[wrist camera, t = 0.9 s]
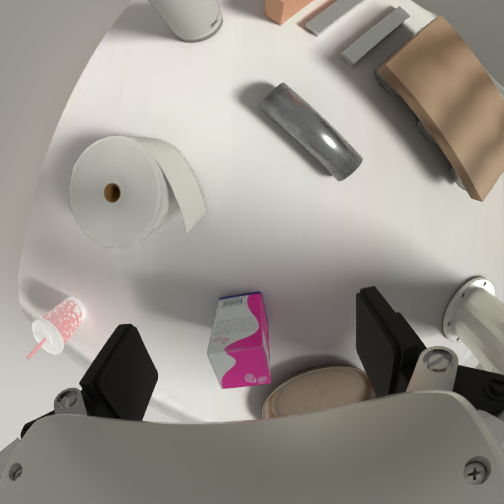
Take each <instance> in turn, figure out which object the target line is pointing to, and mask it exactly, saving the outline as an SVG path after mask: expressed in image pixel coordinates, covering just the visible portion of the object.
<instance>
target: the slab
mask: <svg viewBox="0 0 504 504" xmlns="http://www.w3.org/2000/svg"><path fill="white" fill-rule="evenodd" d="M377 72H378V73H379V74H380V75H381V76H382V77H383V78H384V79H385V80H386V81H387V82H388V83H389V84H390V85H391V86H392V87H393V89H394V90H395V91H396V92H397V93H398V94H399V95H400V96H401V98H402V99H403V100H404V101H405V102H406V103H407V105H408V106H409V107H410V108H411V109H412V111H413V112H414V113H415V114H416V116H417V117H418V118H419V119H420V121H421V122H422V123H423V125H424V126H425V127H426V129H427V130H428V131H429V133H430V134H431V135H432V137H433V138H434V140H435V141H436V142H437V144H438V145H439V147H440V148H441V150H442V151H443V153H444V154H445V156H446V157H447V159H448V160H449V162H450V163H451V165H452V166H453V168H454V170H455V171H456V173H457V175H458V176H459V178H460V180H461V181H462V183H463V185H464V187H465V188H466V190H467V192H468V194H469V196H470V197H471V198H472V199H475V200H478V201H481V202H483V201H484V199H485V198H486V196H487V195H488V193H489V192H490V191H491V189H492V188H493V186H494V185H495V183H496V182H497V180H498V179H499V177H500V176H501V174H502V172H503V171H504V100H503V98H502V96H501V94H500V93H499V91H498V89H497V88H496V86H495V84H494V83H493V81H492V80H491V78H490V77H489V75H488V74H487V72H486V71H485V69H484V68H483V66H482V65H481V63H480V62H479V60H478V59H477V58H476V56H475V55H474V54H473V52H472V51H471V50H470V48H469V47H468V46H467V44H466V43H465V42H464V41H463V39H462V38H461V37H460V36H459V35H458V33H457V32H456V31H455V30H454V29H453V27H452V26H451V25H450V24H449V23H448V22H447V21H446V20H445V19H444V18H443V16H442V15H440V16H439V17H437V18H435V19H434V20H432V21H431V22H430V23H429V24H427V25H426V26H425V27H424V28H423V29H422V30H421V31H419V32H418V33H417V34H416V35H415V36H414V37H413V38H412V39H410V40H409V41H408V42H407V43H406V44H405V45H404V46H403V47H402V48H400V49H399V50H398V51H397V52H396V53H395V54H394V55H393V56H392V57H391V58H389V59H388V60H387V61H386V62H385V63H384V64H383V65H382V66H381V67H380V68H379V69H378V70H377Z"/></svg>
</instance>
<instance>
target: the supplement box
mask: <svg viewBox="0 0 504 504" xmlns="http://www.w3.org/2000/svg"><path fill="white" fill-rule="evenodd" d="M207 355H208V357H209V360H210V362H211V364H212V367H213V369H214V372H215V374H216V376H217V379H218V381H219V384H220V386H221V389H226V388H236V387H245V386H253V385H261V384H269V383H271V370H270V353H269V335H268V323H267V318H266V313H265V309H264V304H263V299H262V295H261V292H255V293H248V294H243V295H236V296H230V297H224V298H219V302H218V306H217V311H216V315H215V319H214V324H213V328H212V333H211V337H210V342H209V346H208V351H207Z"/></svg>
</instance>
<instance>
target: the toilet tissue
mask: <svg viewBox="0 0 504 504" xmlns="http://www.w3.org/2000/svg"><path fill="white" fill-rule="evenodd" d="M69 195H70V204H71V209H72V212H73V214H74V216H75V219H76V222H77V223H78V224H79V225H80V227H81V228H82V230H83V231H84V233H85V234H86V235H88V236H89V237H90V238H92V239H93V240H95V241H96V242H98V243H100V244H102V245H103V246H105V247H109V248H124V247H128V246H132V245H134V244H136V243H138V242H140V241H142V240H144V239H145V238H146V237H147V236H148V235H150V234H151V233H152V232H154V231H155V230H156V229H158V228H159V227H160V226H162V225H163V224H164V223H166V222H167V221H168V220H170V219H171V218H172V217H173V216H174V215H175V214H177V213H178V212H179V211H180V209H181V212H182V215H183V219H184V223H185V226H186V232H187V233H188V232H189V230H190V229H191V228H192V227H193V226H194V225H195V224H196V223H197V222H198V220H200V219H201V217H203V215H205V213H206V207H205V203H204V199H203V195H202V193H201V190H200V188H199V185H198V182H197V180H196V178H195V176H194V174H193V172H192V170H191V168H190V167H189V165H188V163H187V162H186V160H185V158H184V157H183V156H182V154H181V153H180V152H179V151H178V150H177V149H176V148H175V147H174V146H172V145H170V144H169V143H167V142H164V141H161V140H157V139H147V138H140V137H130V136H117V135H114V136H109V137H104V138H102V139H100V140H97V141H95V142H94V143H93V144H91V145H90V146H88V147H87V148H86V149H85V151H84V152H83V153H82V154H81V155H80V157H79V158H78V160H77V162H76V163H75V165H74V167H73V170H72V174H71V179H70V184H69Z"/></svg>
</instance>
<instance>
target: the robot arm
mask: <svg viewBox="0 0 504 504" xmlns="http://www.w3.org/2000/svg"><path fill="white" fill-rule="evenodd" d="M443 331H444V333H445V335H446V337H447V338H448V339H449V340H451V341H453V342H463V343H464V344H465V345H466V346H467V347H468V348H469V350H470V351H471V352H472V353H473V354H474V356H475V357H476V358H477V359H478V360H479V362H480V363H481V364H482V365H483V366H484V368H485V369H486V370H487V371H484V370H479V369H474V368H470V367H465V366H461V365H458V357H457V355H456V354H455V353H454V352H453V351H452V350H451V349H449V348H446V347H443V346H434V347H430V348H426V346H425V345H424V344H423V342H422V341H421V339H420V338H419V337H418V335H417V334H416V333H415V332H414V330H413V329H412V328H411V326H410V325H409V324H408V322H407V321H406V320H405V319H404V317H403V316H402V315H401V314H400V313H398V312H397V313H395V311H394V310H393V309H392V308H391V306H390V305H389V304H388V302H387V301H386V300H385V299H384V297H383V296H382V295H381V294H380V292H379V291H378V290H377V289H376V287H375V286H372V287H367V288H363V289H361V290H360V293H357V294H356V349H357V353H358V355H359V358H360V360H361V362H362V365H363V367H364V369H365V371H366V374H367V376H368V378H369V381H370V383H371V385H372V388H373V390H374V393H375V395H376V397H377V398H376V399H371V400H367V401H363V402H358V403H354V404H349V405H345V406H340V407H336V408H331V409H325V410H320V411H315V412H309V413H303V414H297V415H290V416H283V417H275V418H266V419H256V420H245V421H230V422H206V423H173V422H172V423H171V422H170V423H169V422H147V421H142V420H143V417H144V414H145V411H146V409H147V406H148V403H149V401H150V398H151V396H152V393H153V390H154V388H155V385H156V383H157V380H158V372H157V370H156V368H155V366H154V364H153V362H152V360H151V358H150V356H149V354H148V351H147V349H146V347H145V345H144V343H143V341H142V339H141V336H140V334H139V332H138V330H137V328H136V327H134V326H133V325H132V324H121V325H118V327H117V328H116V329H115V331H114V332H113V334H112V335H111V336H110V338H109V339H108V341H107V342H106V344H105V345H104V347H103V348H102V349H101V351H100V352H99V354H98V355H97V357H96V358H95V360H94V361H93V363H92V364H91V366H90V367H89V369H88V370H87V372H86V373H85V375H84V376H83V378H82V379H81V381H80V383H79V384H80V385H81V387H82V390H81V391H80V390H79V389H77V388H68V389H66V390H64V391H62V392H61V393H60V394H58V396H57V397H56V398H55V401H54V410H53V411H51V412H49V413H48V414H45V415H44V416H41V417H40V418H37V419H35V420H33V421H31V422H29V423H27V424H25V425H24V427H23V429H22V432H21V440H20V439H19V438H17V439H16V440H14V441H13V442H12V443H11V444H9V445H8V446H7V447H6V448H4V449H3V450H2V451H1V452H0V504H504V303H502V302H501V301H500V300H499V299H497V298H496V297H495V291H494V287H493V285H492V283H491V282H490V281H489V280H487V279H485V278H483V277H477V278H474V279H472V280H470V281H468V282H467V283H465V284H464V285H463V286H462V287H461V288H460V289H459V290H458V291H457V292H456V294H455V295H454V296H453V298H452V300H451V301H450V303H449V305H448V307H447V309H446V312H445V315H444V319H443Z"/></svg>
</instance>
